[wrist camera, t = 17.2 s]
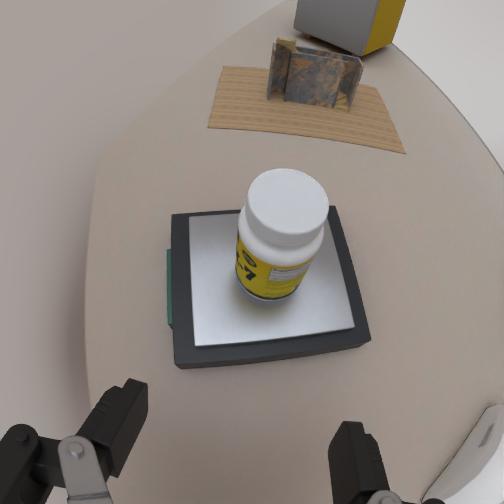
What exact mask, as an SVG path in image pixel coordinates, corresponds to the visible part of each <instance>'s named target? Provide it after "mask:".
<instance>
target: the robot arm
mask: <svg viewBox="0 0 504 504" xmlns="http://www.w3.org/2000/svg"><path fill="white" fill-rule="evenodd" d="M147 413H148V385H147V383H143V382H140V381H137V380H134V379H131V378H129V379H128V380H127V382H126V383H125V385H124V386H123V388H120V387H117V386H114V387H112V388H111V389H109V390H107V391H106V392H105V393H104V394H103V396H102V397H101V399H100V400H99V402H98V403H97V404H96V406H95V408H94V409H93V410H92V412H91V413H90V415H89V416H88V418H87V419H86V421H85V422H84V424H83V425H82V427H81V428H80V429H79V431H78V432H77V434H76V435H74V436H69V437H66V438H64V439H63V440H55V439H50V438H45V437H40V436H38V434H37V432H36V431H35V429H34V428H32V427H31V426H29V425H26V424H17V425H14V426H12V427H11V428H10V429H9V430H8V431H7V433H6V434H5V435H4V437H3V438H2V440H1V441H0V504H45V503H46V501H47V498H48V497H49V495H50V493H51V491H52V489H53V487H54V486H57V487H62V488H66V489H67V493H68V498H67V502H68V504H114V503H113V501H112V498H111V496H110V493H109V490H108V488H107V485H106V482H107V480H108V478H109V476H110V475H111V476H114V477H116V478H118V477H119V475H120V472H121V470H122V468H123V466H124V464H125V462H126V460H127V458H128V456H129V453H130V451H131V449H132V447H133V445H134V443H135V441H136V439H137V437H138V435H139V433H140V431H141V429H142V426H143V424H144V422H145V420H146V417H147ZM328 460H329V468H330V477H331V486H332V495H333V504H415V503H409V502H404V501H401V499H400V497H399V496H398V495H397V494H396V493H394V492H392V491H390V488H389V484H388V481H387V477H386V473H385V469H384V465H383V462H382V458H381V454H380V451H379V447H378V443H377V442H376V440H375V439H374V438H373V437H372V435H371V434H365V431H364V428H363V424H362V423H361V422H352V421H343V422H342V423H341V425H340V427H339V429H338V430H337V432H336V434H335V436H334V437H333V439H332V441H331V443H330V445H329V449H328ZM422 504H445V503H444V502H443V501H442V500H440V499H437V498H430V499H427V500H426V501H424V502H423V503H422Z"/></svg>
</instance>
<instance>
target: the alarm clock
mask: <svg viewBox="0 0 504 504" xmlns="http://www.w3.org/2000/svg"><path fill="white" fill-rule="evenodd" d="M405 2H406V0H298V4H297V10H296V16H295V21H294V28H295V29H296V30H298V31H301V32H304V33H306V35H307V38H311V36H314V37H317V38H319V39H322V40H324V41H327V42H329V43H331V44H334V45H336V46H338V47H341V48H343V49H345V50H347V51H349V52H352V56H353V57H356V56H357V55H358V56H364V55H366V54H368V53H370V52H372V51H375V50H377V49H379V48H381V47H384V46H386V45H388V44H391V43H392V40H393V37H394V35H395V32H396V29H397V26H398V23H399V20H400V17H401V14H402V11H403V8H404V5H405Z"/></svg>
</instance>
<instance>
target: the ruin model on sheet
mask: <svg viewBox="0 0 504 504" xmlns="http://www.w3.org/2000/svg"><path fill="white" fill-rule="evenodd" d="M295 44H296V40H295V39H294V40H287V39H279V38H277V39H276V43H273V50H272V57H271V65H270V69H262V68H250V67H235V66H223V69H222V73H221V77H220V80H219V84H218V88H217V92H216V96H215V100H214V103H213V107H212V112H211V116H210V120H209V124H208V127H209V128H228V129H243V130H256V131H267V132H277V133H286V134H294V135H302V136H310V137H317V138H324V139H330V140H337V141H343V142H349V143H354V144H360V145H365V146H370V147H375V148H380V149H385V150H390V151H395V152H399V153H403V154H406V153H405V151H404V148H403V146H402V143H401V141H400V138H399V136H398V134H397V131H396V129H395V127H394V124H393V122H392V120H391V118H390V115H389V113H388V111H387V109H386V107H385V105H384V103H383V100H382V98H381V96H380V94H379V92H378V90H377V88H374V87H370V86H366V85H362V84H359V81H360V78H361V75H362V72H363V69H364V65H363V63H362V61H361V59H360V58H358V57H353V56H349V55H345V54H340V53H335V52H330V51H325V50H319V49H314V48H308V47H301V46H295Z"/></svg>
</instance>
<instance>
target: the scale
mask: <svg viewBox="0 0 504 504" xmlns="http://www.w3.org/2000/svg"><path fill="white" fill-rule="evenodd" d="M240 212H241V210H226V211H211V212H197V213H184V214H172V219H171V249H168V250H167V311H168V325H169V326H170V327H171V329H173V344H174V360H175V365H176V366H178V367H179V368H180V369H189V368H206V367H219V366H231V365H242V364H251V363H260V362H269V361H277V360H284V359H291V358H298V357H305V356H311V355H318V354H324V353H329V352H335V351H341V350H346V349H351V348H356V347H359V346H361V345H363V344H365V343H367V342H369V341H371V336H370V332H369V327H368V323H367V319H366V314H365V310H364V306H363V302H362V298H361V294H360V290H359V286H358V282H357V278H356V275H355V271H354V267H353V264H352V260H351V256H350V253H349V249H348V246H347V243H346V239H345V236H344V232H343V229H342V226H341V223H340V219H339V216H338V213H337V210H336V207H335V206H329V211H328V215H327V219H328V222H329V226H330V229H331V233H332V236H333V240H334V243H335V247H336V251H337V254H338V258H339V262H340V266H341V270H342V274H343V278H344V282H345V286H346V290H347V294H348V298H349V302H350V307H351V311H352V315H353V320H354V324H355V328H353V329H352V330H349V331H343V332H337V333H331V334H324V335H318V336H311V337H304V338H297V339H289V340H281V341H273V342H264V343H255V344H245V345H235V346H223V347H210V348H195V346H194V334H193V319H192V302H191V281H190V254H189V217H193V216H207V215H222V214H238V213H240Z"/></svg>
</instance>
